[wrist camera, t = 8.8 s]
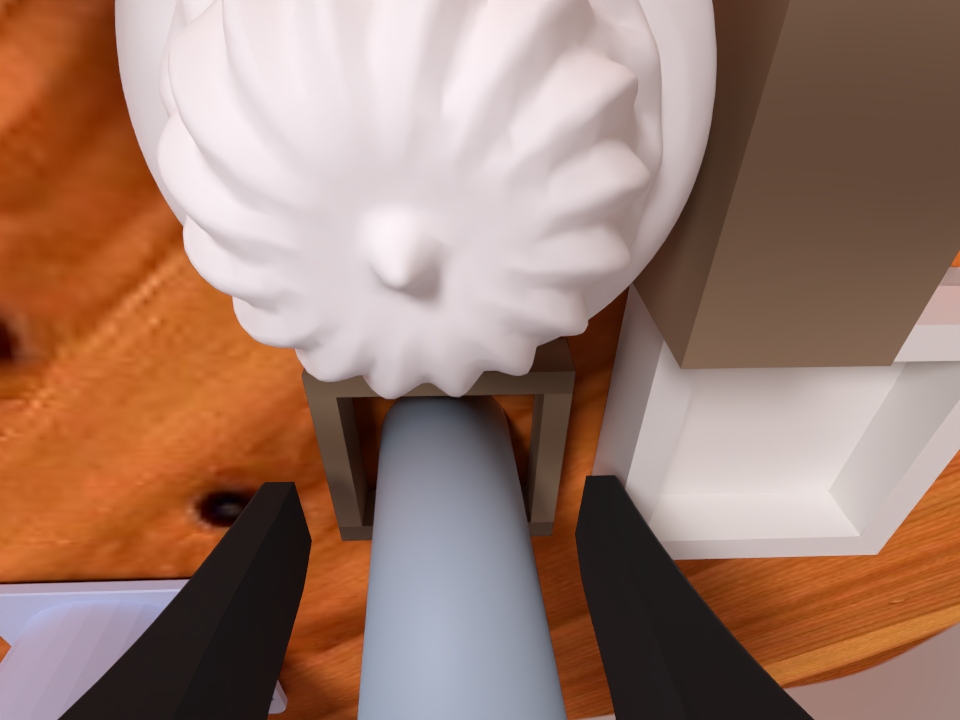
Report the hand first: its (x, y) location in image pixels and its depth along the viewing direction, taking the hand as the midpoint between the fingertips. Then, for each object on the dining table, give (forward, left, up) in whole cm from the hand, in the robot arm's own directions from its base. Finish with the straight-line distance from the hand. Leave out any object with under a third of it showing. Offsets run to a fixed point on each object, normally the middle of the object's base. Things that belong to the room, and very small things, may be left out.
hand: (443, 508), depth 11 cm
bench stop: (+8, -5, -2) cm, 10 cm away
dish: (+1, -7, -2) cm, 8 cm away
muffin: (+8, 0, -3) cm, 8 cm away
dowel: (0, 0, -2) cm, 2 cm away
